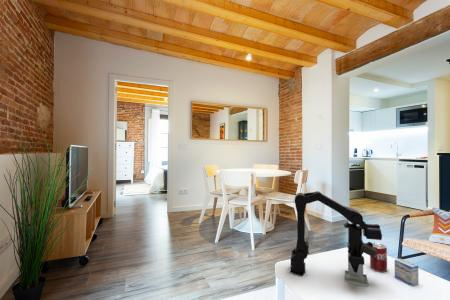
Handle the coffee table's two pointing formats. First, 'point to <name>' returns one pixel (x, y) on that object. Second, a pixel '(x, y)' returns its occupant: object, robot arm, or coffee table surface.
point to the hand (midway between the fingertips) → (355, 270)
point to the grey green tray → (356, 279)
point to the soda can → (379, 258)
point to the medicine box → (406, 272)
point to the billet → (359, 272)
